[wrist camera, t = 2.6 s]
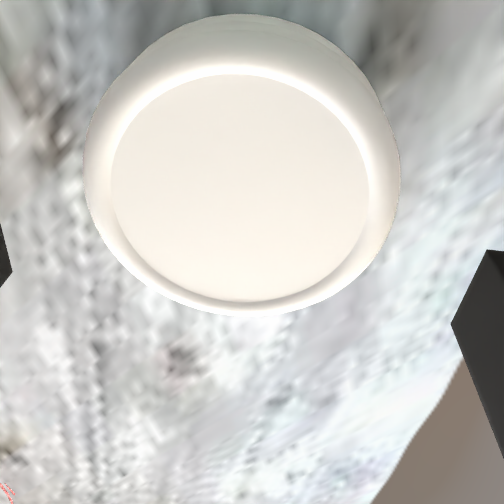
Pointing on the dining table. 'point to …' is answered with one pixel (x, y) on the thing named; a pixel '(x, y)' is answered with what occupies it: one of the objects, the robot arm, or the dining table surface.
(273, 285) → the white thick disc
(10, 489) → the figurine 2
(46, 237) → the dining table surface
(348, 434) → the dining table surface
